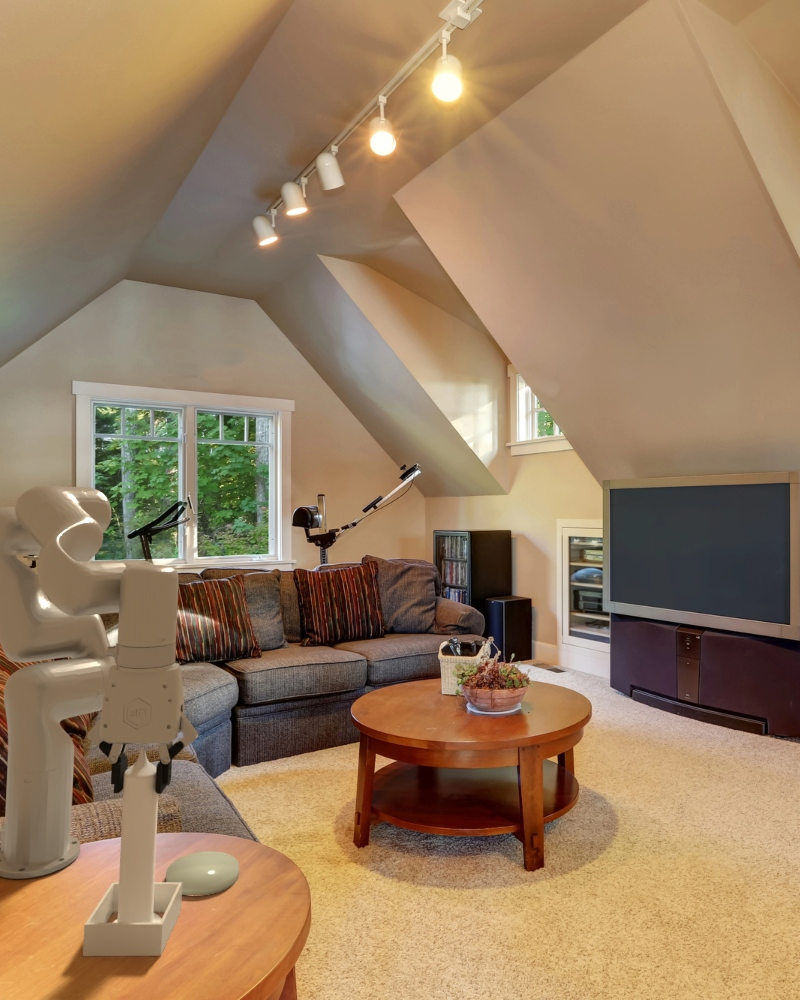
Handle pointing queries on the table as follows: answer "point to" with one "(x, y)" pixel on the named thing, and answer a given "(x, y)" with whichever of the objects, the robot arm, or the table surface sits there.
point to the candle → (138, 844)
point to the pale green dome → (204, 872)
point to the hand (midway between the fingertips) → (141, 788)
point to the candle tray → (132, 925)
